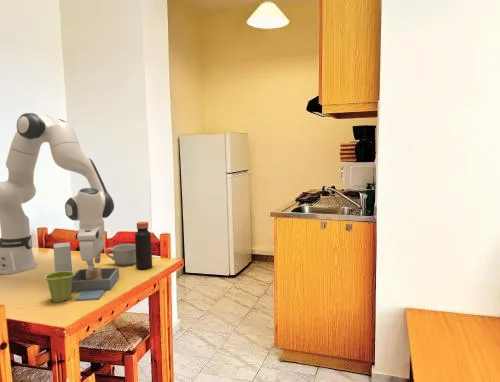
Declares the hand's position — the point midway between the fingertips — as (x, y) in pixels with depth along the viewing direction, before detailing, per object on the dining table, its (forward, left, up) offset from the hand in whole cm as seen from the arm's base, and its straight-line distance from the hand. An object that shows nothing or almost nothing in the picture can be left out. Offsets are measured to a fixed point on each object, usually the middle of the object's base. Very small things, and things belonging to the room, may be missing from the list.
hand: (94, 266), depth 161 cm
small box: (-16, +14, -7) cm, 23 cm away
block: (0, 0, -7) cm, 7 cm away
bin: (0, 0, -7) cm, 7 cm away
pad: (+2, -13, -7) cm, 15 cm away
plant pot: (-8, -14, -7) cm, 18 cm away
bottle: (+16, +20, -7) cm, 26 cm away
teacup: (+5, +28, -7) cm, 29 cm away
